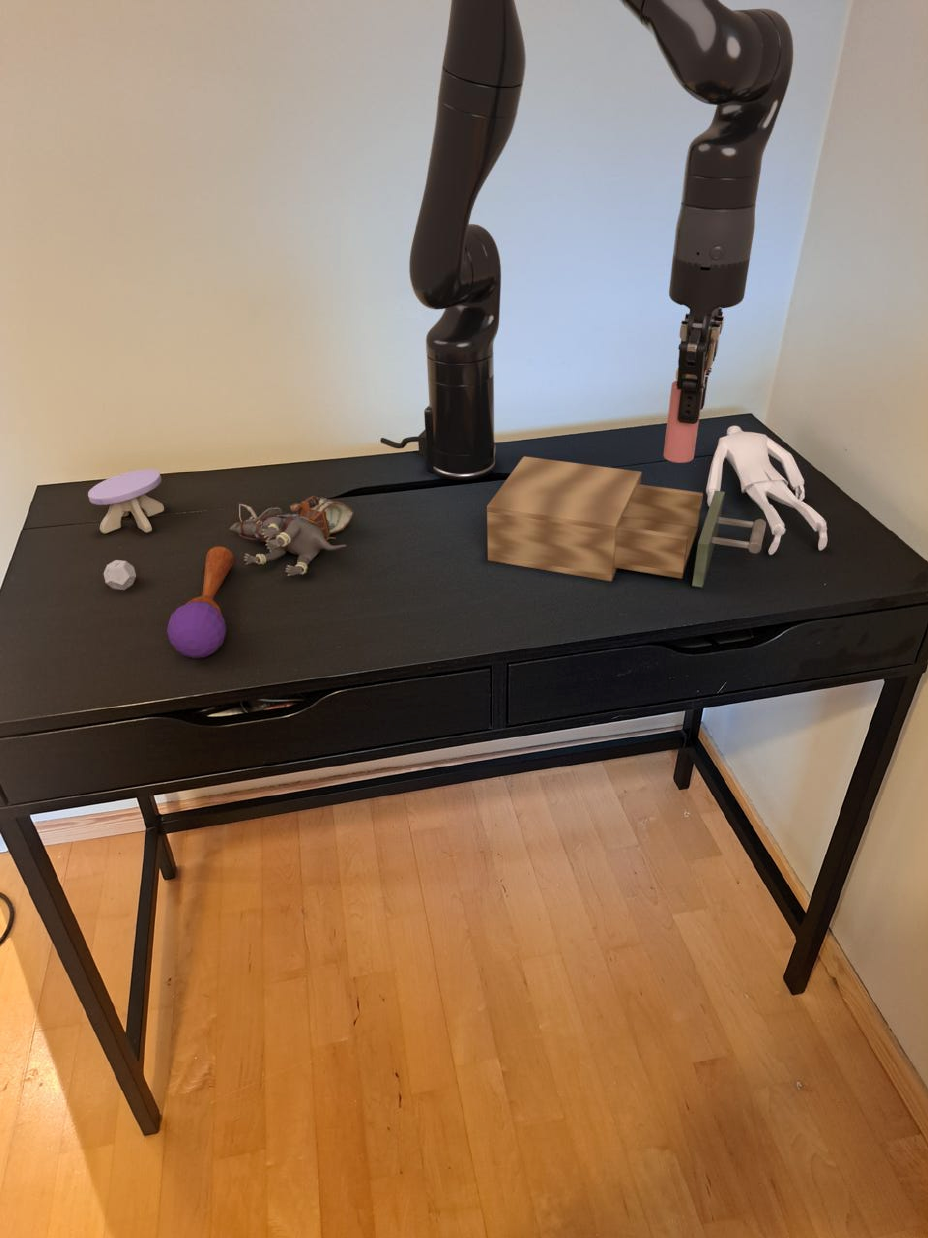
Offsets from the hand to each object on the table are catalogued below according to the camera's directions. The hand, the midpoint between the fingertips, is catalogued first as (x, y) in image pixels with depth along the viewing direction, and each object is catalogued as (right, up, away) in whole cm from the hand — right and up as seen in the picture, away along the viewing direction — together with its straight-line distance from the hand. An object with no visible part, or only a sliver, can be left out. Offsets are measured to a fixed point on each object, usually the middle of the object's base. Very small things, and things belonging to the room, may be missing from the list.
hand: (690, 414), depth 99 cm
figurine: (-46, -13, +17) cm, 51 cm away
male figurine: (+14, -8, +21) cm, 27 cm away
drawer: (+1, -15, +10) cm, 18 cm away
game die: (-67, -19, +10) cm, 70 cm away
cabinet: (-12, -13, +15) cm, 23 cm away
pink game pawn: (-1, -4, +3) cm, 5 cm away
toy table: (-70, -9, +23) cm, 74 cm away
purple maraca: (-54, -22, +4) cm, 59 cm away
